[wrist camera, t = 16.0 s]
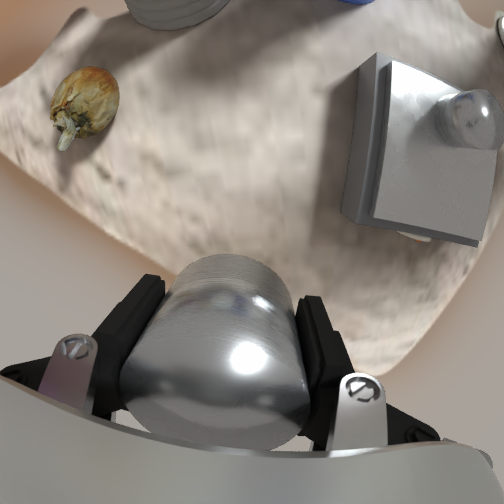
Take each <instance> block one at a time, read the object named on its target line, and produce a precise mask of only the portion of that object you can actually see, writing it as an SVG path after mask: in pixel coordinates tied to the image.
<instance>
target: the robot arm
mask: <svg viewBox="0 0 504 504" xmlns="http://www.w3.org/2000/svg"><path fill="white" fill-rule="evenodd" d="M498 28H499V33H500V37H501V40H502V42H503V45H504V16H502V17H500V19H499V22H498ZM164 297H165V281H164V280H161V278H160V276H157V275H150V274H145V275H144V276H143V277H142V278H141V279H140V281H139V282H138V283H137V284H136V285H135V286H134V288H133V289H132V290H131V291H130V292H129V293H128V294H127V296H126V297H125V298H124V299H123V300H122V301H121V302H119V303H118V304H117V305H116V307H115V308H114V309H113V310H112V311H111V313H110V314H109V315H108V316H107V317H106V318H105V320H104V321H103V322H102V323H101V325H100V326H99V327H98V328H97V329H96V331H95V332H94V333H93V334H92V336H91V337H90V336H88V335H84V334H72V335H68V336H66V337H64V338H62V339H61V340H60V341H59V342H58V344H57V345H56V347H55V349H54V352H53V354H52V356H50V357H46V358H42V359H38V360H33V361H29V362H25V363H20V364H15V365H11V366H8V367H6V368H4V369H3V370H1V371H0V504H504V491H503V489H502V487H501V485H500V483H499V481H498V479H497V477H496V475H495V473H494V471H493V470H492V468H493V466H492V460H491V458H490V456H489V455H488V454H487V453H485V452H483V451H481V450H478V449H475V448H473V447H471V446H468V445H465V444H461V443H457V442H455V441H452V440H449V439H446V438H444V439H443V440H442V441H441V440H440V437H439V435H438V433H437V432H436V431H435V430H434V429H433V428H432V427H430V426H429V425H427V424H425V423H423V422H421V421H419V420H417V419H415V418H413V417H412V416H410V415H408V414H406V413H404V412H402V411H400V410H398V409H397V408H395V407H393V406H391V405H389V404H387V403H386V396H385V390H384V387H383V386H382V384H381V383H380V382H379V381H378V380H377V379H376V378H374V377H372V376H370V375H367V374H363V373H355V371H354V369H353V366H352V363H351V361H350V358H349V355H348V353H347V350H346V348H345V345H344V343H343V340H342V338H341V335H340V333H339V331H333V328H332V325H331V323H330V320H329V317H328V315H327V312H326V309H325V307H324V304H323V302H322V299H321V297H319V296H309V295H306V296H305V298H304V299H302V298H300V299H299V302H298V307H297V311H296V315H295V320H296V325H297V330H298V335H299V341H300V346H301V351H302V357H303V362H304V368H305V373H306V379H307V385H308V391H309V397H310V404H311V407H310V414H309V417H308V420H307V422H306V424H305V426H304V427H303V428H302V430H301V431H300V432H299V433H298V434H297V435H298V436H306V437H307V438H309V439H310V440H312V442H311V445H310V449H309V451H307V452H293V451H290V452H289V451H288V452H287V451H265V450H251V449H240V448H230V447H222V446H215V445H208V444H201V443H195V442H190V441H185V440H179V439H175V438H170V437H165V436H161V435H157V434H153V433H149V432H144V431H141V430H137V429H134V428H130V427H127V426H124V425H120V424H117V423H115V419H116V411H117V410H120V409H123V410H126V411H129V410H128V408H127V407H126V405H125V403H124V401H123V399H122V396H121V393H120V387H119V377H120V373H121V370H122V368H123V366H124V364H125V362H126V360H127V358H128V357H129V355H130V353H131V351H132V350H133V348H134V346H135V344H136V343H137V341H138V339H139V338H140V336H141V334H142V333H143V331H144V329H145V328H146V326H147V324H148V323H149V321H150V319H151V318H152V316H153V314H154V313H155V311H156V309H157V308H158V306H159V305H160V303H161V301H162V300H163V298H164Z"/></svg>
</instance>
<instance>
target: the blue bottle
mask: <svg viewBox="0 0 504 504" xmlns="http://www.w3.org/2000/svg"><path fill="white" fill-rule="evenodd" d="M339 1H342V2H345V3H350V4H367V3H371V2H373V1H374V0H339Z"/></svg>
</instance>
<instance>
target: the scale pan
mask: <svg viewBox="0 0 504 504" xmlns="http://www.w3.org/2000/svg"><path fill="white" fill-rule="evenodd" d="M456 93H461V91H459V90H457V89H455V88H453V87H451V86H449V85H447V84H445V83H443V82H441V81H439V80H437V79H435V78H433V77H431V76H429V75H426V74H424V73H422V72H419V71H417V70H415V69H412V68H410V67H407V66H405V65H402V64H400V63H397V62H395V61H391V62H390V63H388V64H387V75H386V92H385V105H384V116H383V125H382V134H381V142H380V150H379V157H378V164H377V170H376V176H375V182H374V188H373V194H372V199H371V204H370V209H369V215H370V216H372V217H374V218H379V219H384V220H389V221H394V222H399V223H404V224H409V225H414V226H419V227H423V228H428V229H432V230H437V231H441V232H445V233H450V234H454V235H458V236H462V237H466V238H470V239H474V240H478V241H482V237H483V233H484V229H485V225H486V221H487V216H488V211H489V206H490V201H491V196H492V190H493V183H494V176H495V169H496V160H497V150H481V149H468V148H455V147H452V146H450V145H448V144H447V143H446V142H445V141H444V140H443V139H442V138H441V136H440V134H439V133H438V130H437V128H436V125H435V120H434V109H435V105H436V103H437V101H438V100H439V99H440V98H441V97H443V96H447V95H451V94H456Z"/></svg>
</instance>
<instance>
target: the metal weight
mask: <svg viewBox="0 0 504 504" xmlns="http://www.w3.org/2000/svg"><path fill="white" fill-rule="evenodd" d="M434 120H435V125H436V128H437V130H438V133H439V134H440V136H441V138H442V139H443V140H444V141H445V142H446V143H447V144H448V145H450V146H452V147H455V148H468V149H481V150H497V149H499V148H500V147H501V146H502V144H503V142H504V114H503V111H502V108H501V106H500V104H499V103H498V101H497V100H496V98H495V97H494V96H493V95H492V94H491V93H490V92H488V91H487V90H484V89H476V90H471V91H465V92H461V93H456V94H451V95H447V96H443V97H441V98H440V99H439V100H438V101H437V103H436V105H435V109H434Z"/></svg>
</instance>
